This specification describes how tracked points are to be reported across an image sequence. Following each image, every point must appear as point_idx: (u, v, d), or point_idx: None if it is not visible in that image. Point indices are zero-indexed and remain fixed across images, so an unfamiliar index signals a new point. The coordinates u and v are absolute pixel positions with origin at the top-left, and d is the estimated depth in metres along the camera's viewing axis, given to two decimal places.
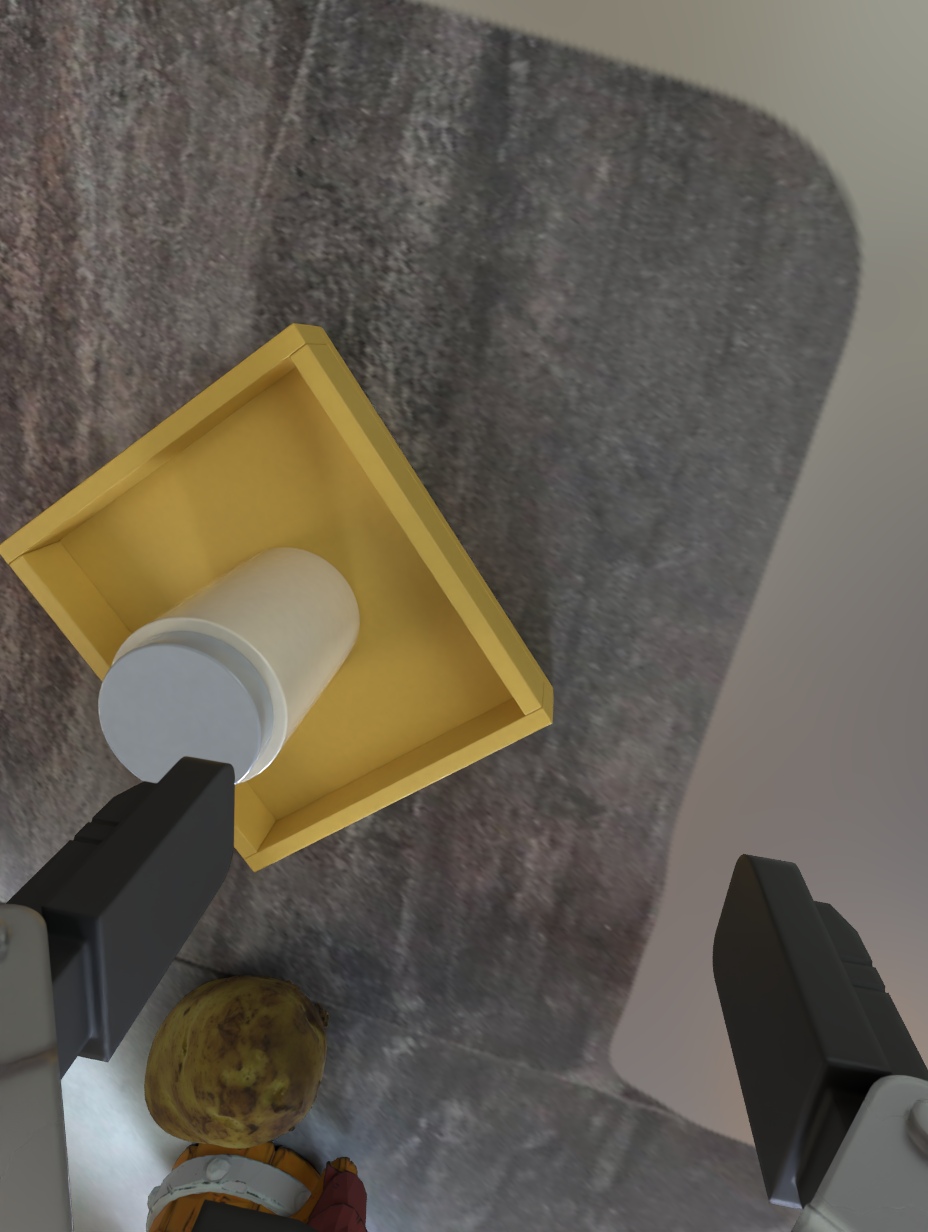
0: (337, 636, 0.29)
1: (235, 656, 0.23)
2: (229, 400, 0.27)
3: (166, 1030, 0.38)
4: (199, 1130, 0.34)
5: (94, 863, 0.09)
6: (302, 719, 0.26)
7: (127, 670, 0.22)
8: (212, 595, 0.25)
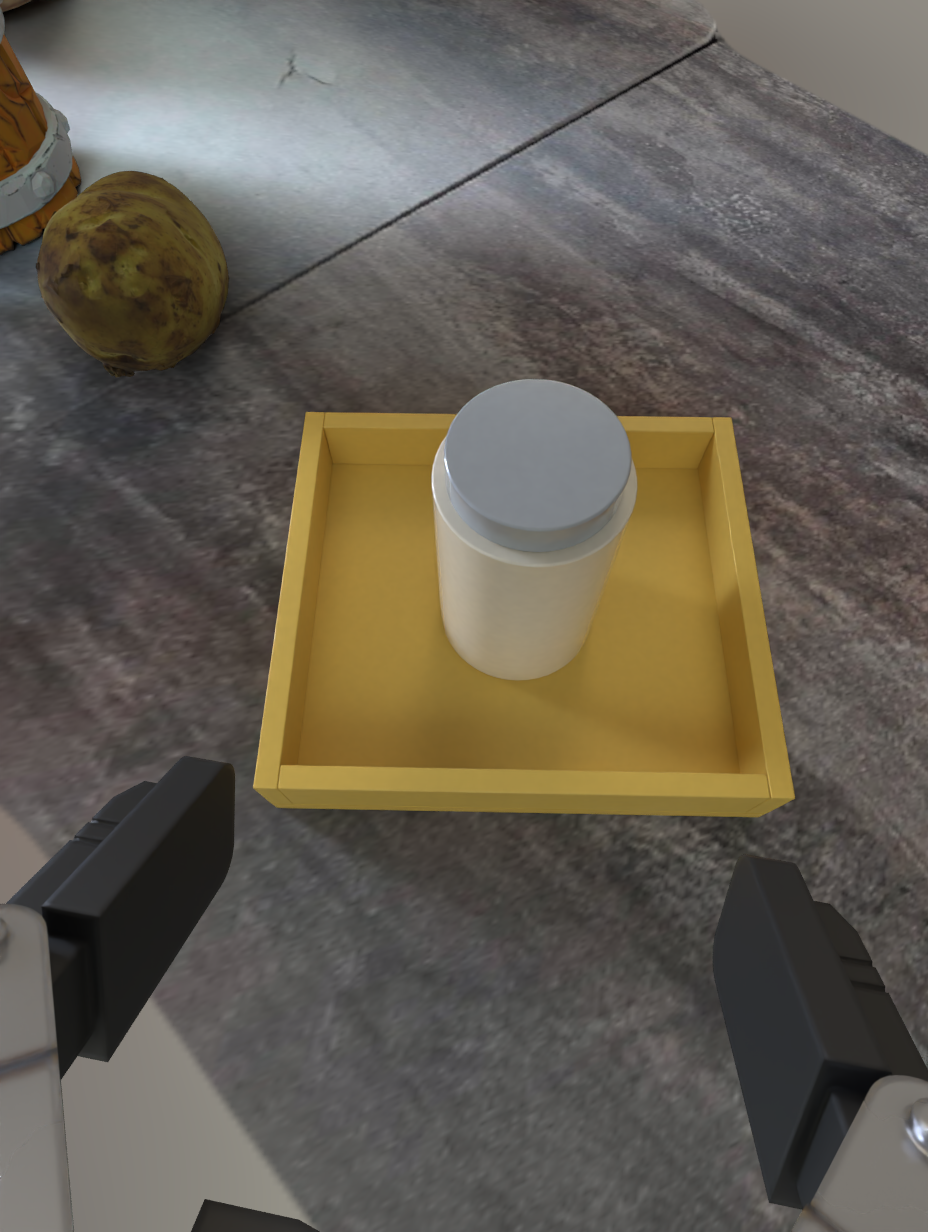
0: (484, 639, 0.26)
1: (564, 543, 0.20)
2: (754, 693, 0.26)
3: (213, 240, 0.35)
4: (106, 194, 0.31)
5: (94, 863, 0.09)
6: (443, 556, 0.23)
7: (615, 444, 0.21)
8: (613, 560, 0.23)
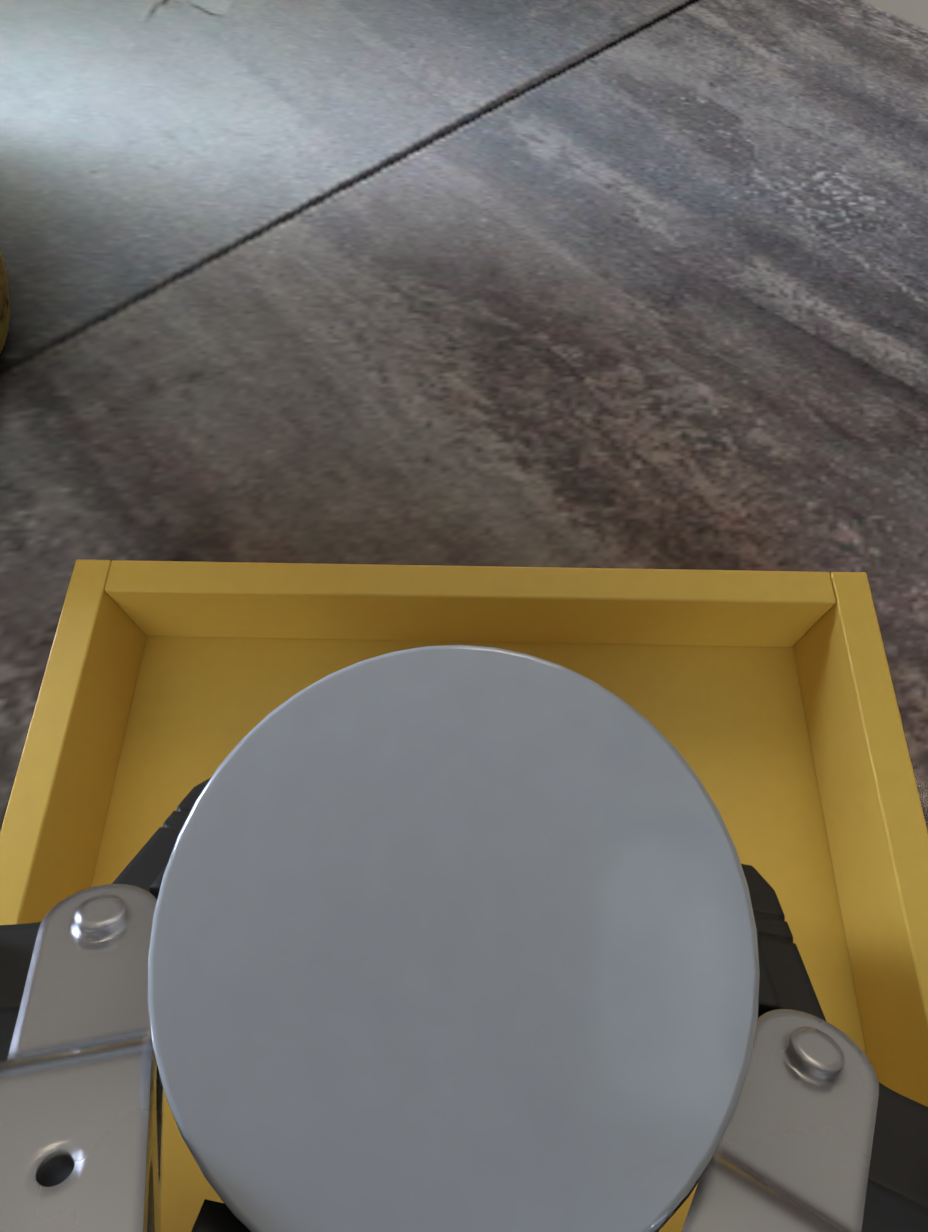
0: None
1: None
2: None
3: None
4: None
5: None
6: None
7: (704, 899, 0.06)
8: None
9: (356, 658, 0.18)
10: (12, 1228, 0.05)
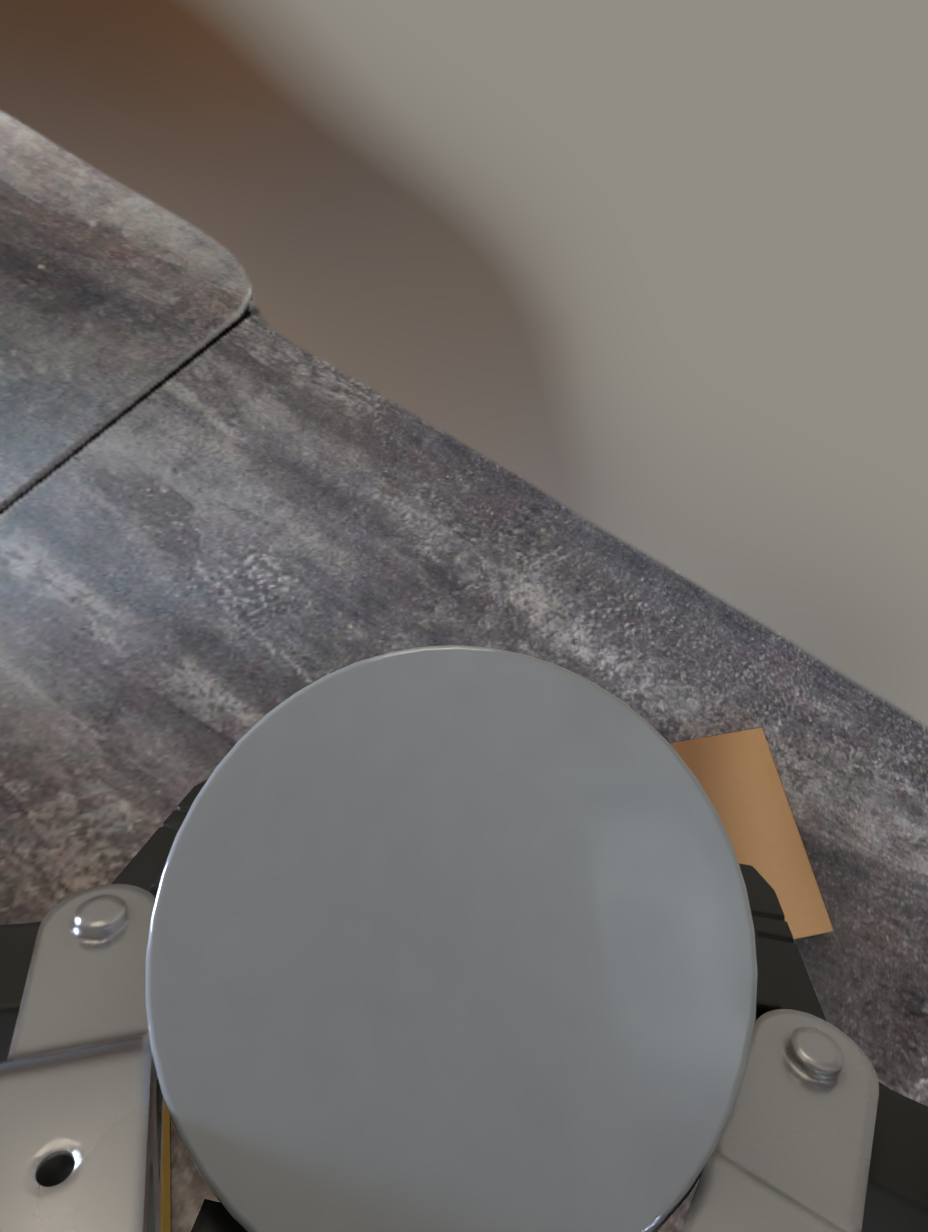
0: None
1: None
2: None
3: None
4: None
5: None
6: None
7: (702, 899, 0.06)
8: None
9: None
10: (12, 1227, 0.05)
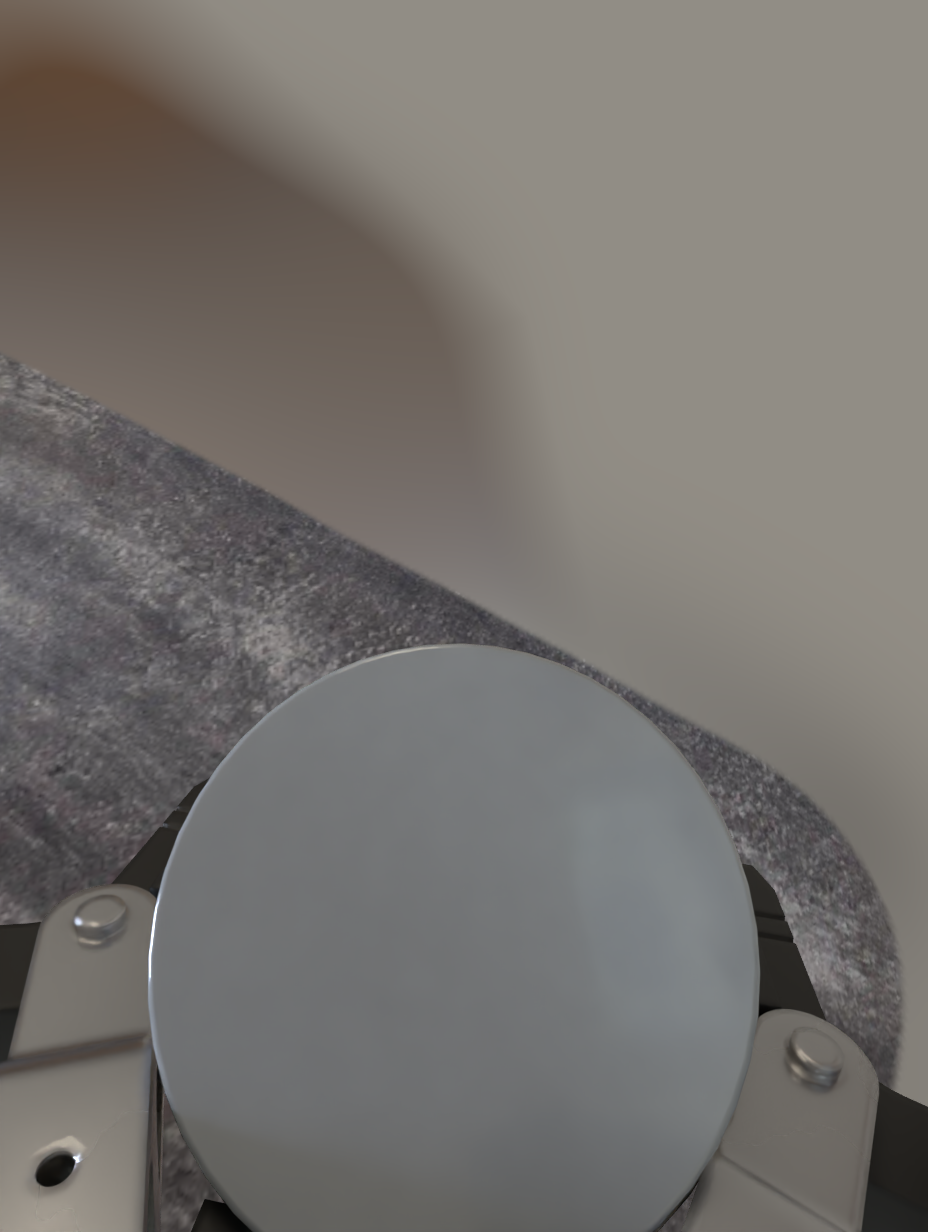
0: None
1: None
2: None
3: None
4: None
5: None
6: None
7: (704, 897, 0.06)
8: None
9: None
10: (11, 1228, 0.05)
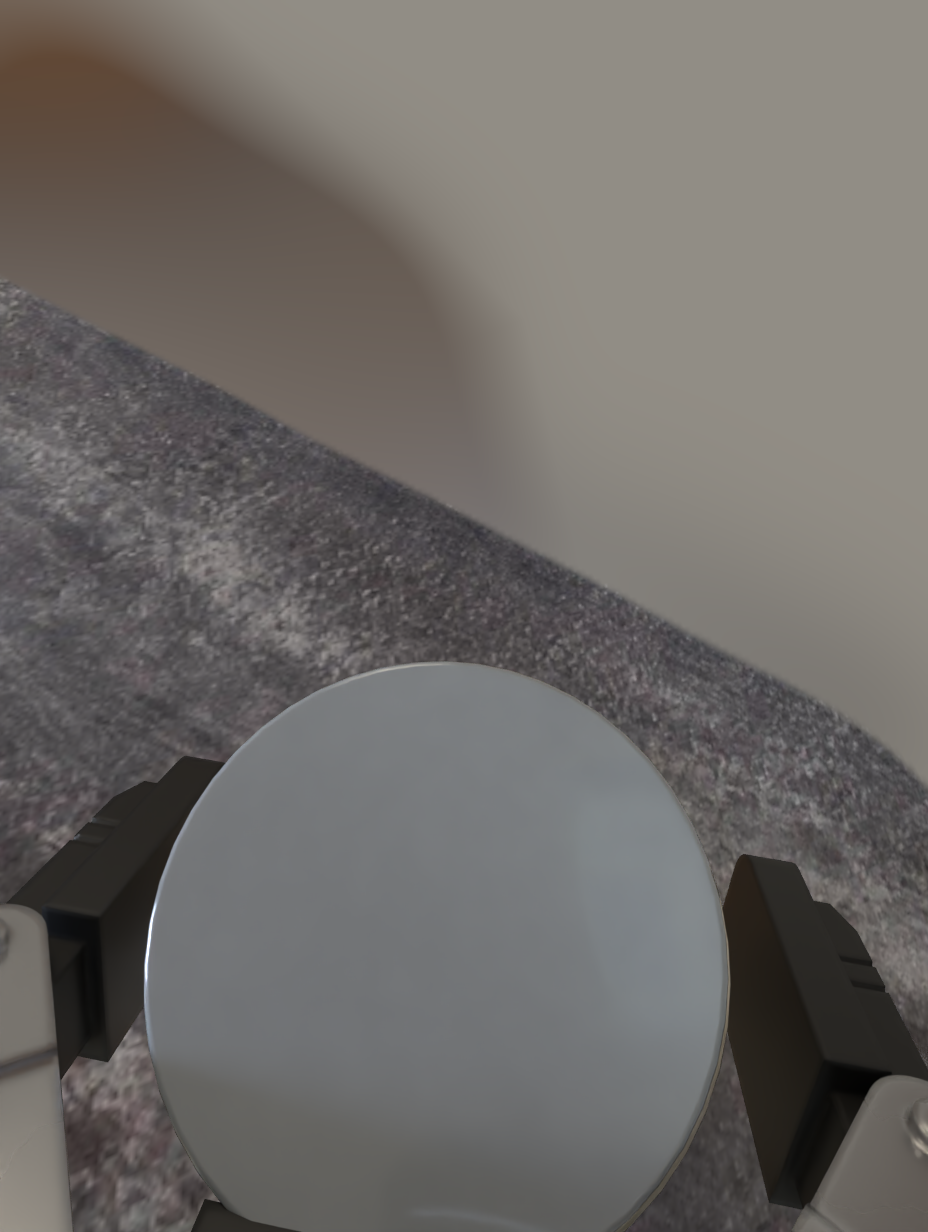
0: None
1: None
2: None
3: None
4: None
5: (95, 863, 0.09)
6: None
7: (676, 907, 0.07)
8: None
9: None
10: None
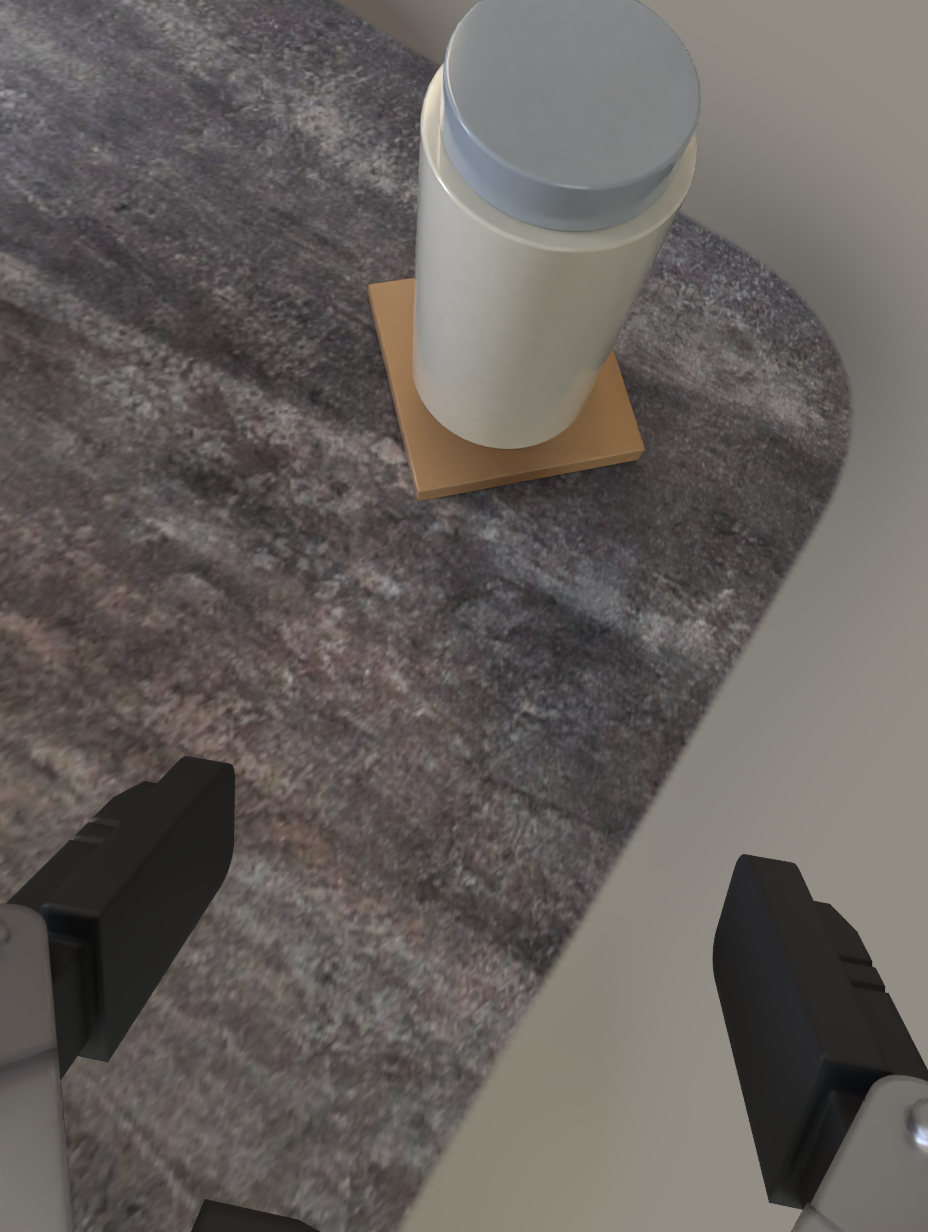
0: (467, 382, 0.21)
1: (599, 218, 0.15)
2: None
3: None
4: None
5: (94, 863, 0.09)
6: (427, 250, 0.18)
7: (680, 81, 0.15)
8: (647, 274, 0.18)
9: None
10: None
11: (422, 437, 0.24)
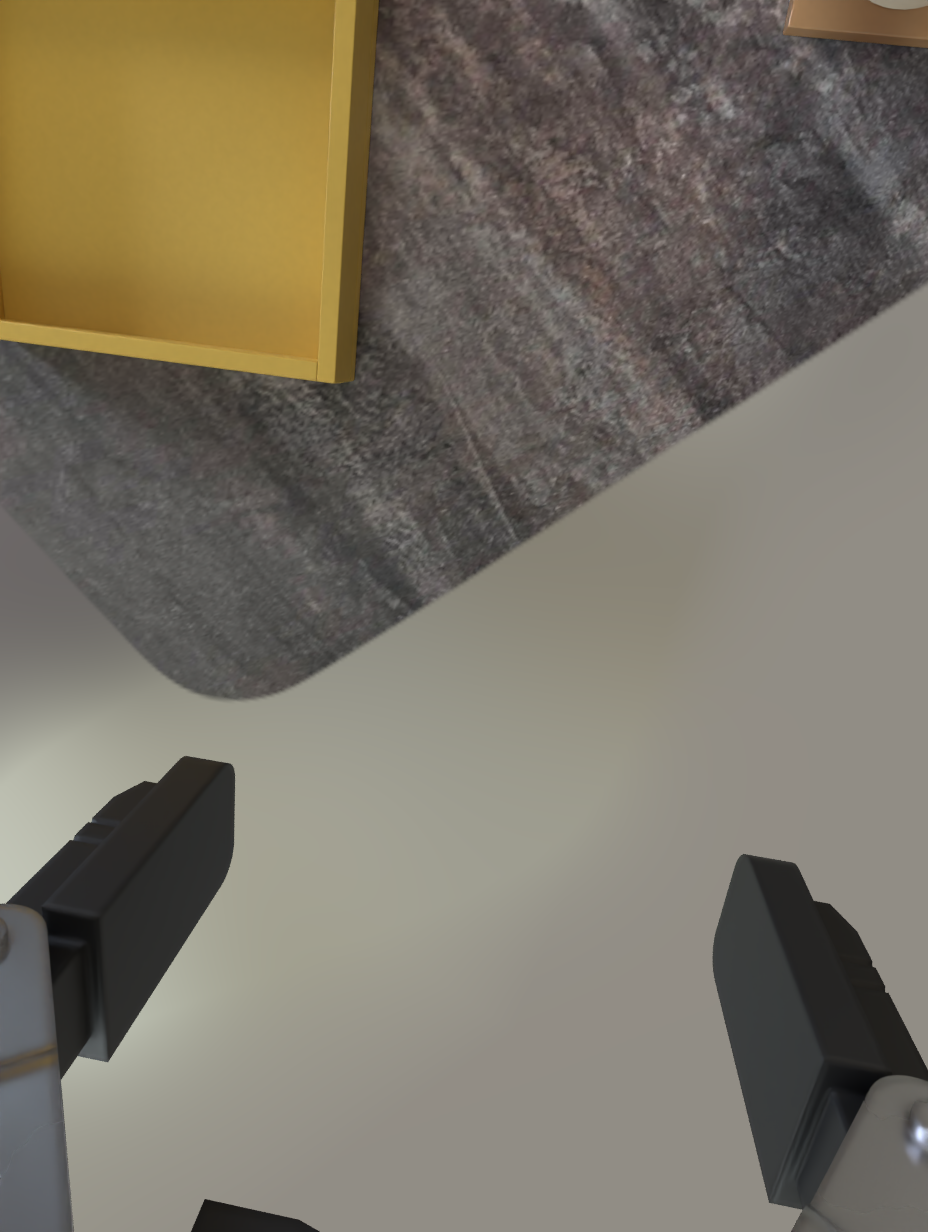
0: None
1: None
2: (321, 290, 0.31)
3: None
4: None
5: (94, 863, 0.09)
6: None
7: None
8: None
9: None
10: None
11: None
